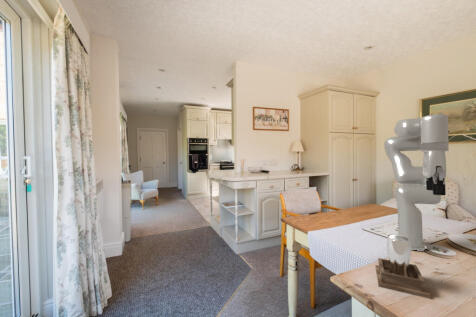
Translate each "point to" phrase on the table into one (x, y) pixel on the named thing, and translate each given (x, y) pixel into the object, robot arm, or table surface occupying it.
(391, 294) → the table surface
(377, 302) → the table surface
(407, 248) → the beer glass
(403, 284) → the brown wooden tray
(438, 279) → the table surface
